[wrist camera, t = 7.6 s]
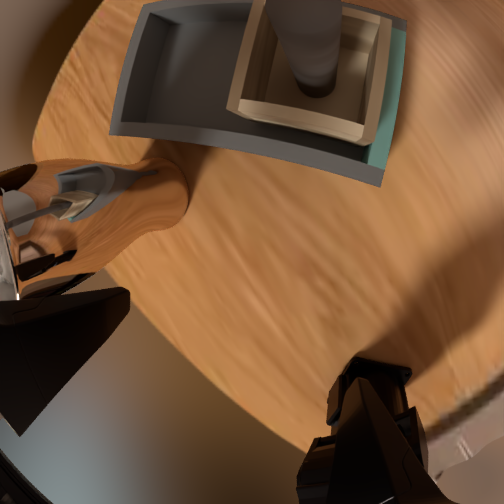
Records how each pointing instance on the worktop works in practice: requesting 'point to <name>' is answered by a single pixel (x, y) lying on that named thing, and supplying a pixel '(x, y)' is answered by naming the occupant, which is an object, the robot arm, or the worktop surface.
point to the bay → (218, 88)
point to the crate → (312, 69)
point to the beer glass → (79, 219)
